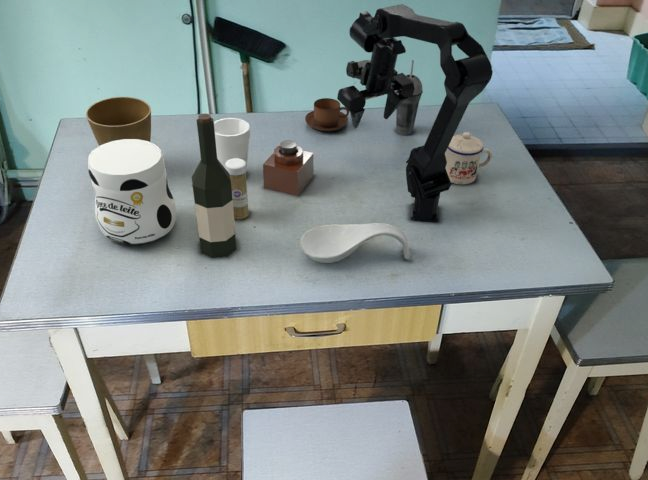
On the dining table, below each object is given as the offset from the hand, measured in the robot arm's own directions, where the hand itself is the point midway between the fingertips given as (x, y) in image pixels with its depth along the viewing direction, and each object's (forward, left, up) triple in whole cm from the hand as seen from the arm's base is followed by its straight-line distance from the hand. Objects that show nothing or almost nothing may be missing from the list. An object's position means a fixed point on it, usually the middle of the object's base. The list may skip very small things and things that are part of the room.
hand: (370, 122), depth 163 cm
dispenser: (-9, +19, -13) cm, 24 cm away
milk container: (-34, +49, -13) cm, 61 cm away
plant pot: (-10, +59, -13) cm, 61 cm away
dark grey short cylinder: (-9, +19, -5) cm, 21 cm away
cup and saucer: (+23, +13, -13) cm, 29 cm away
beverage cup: (+23, -9, -13) cm, 28 cm away
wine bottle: (-38, +30, -13) cm, 50 cm away
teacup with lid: (+1, -25, -13) cm, 28 cm away
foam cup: (-8, +33, -13) cm, 36 cm away
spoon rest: (-36, 0, -13) cm, 39 cm away
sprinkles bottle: (-25, +28, -13) cm, 40 cm away
